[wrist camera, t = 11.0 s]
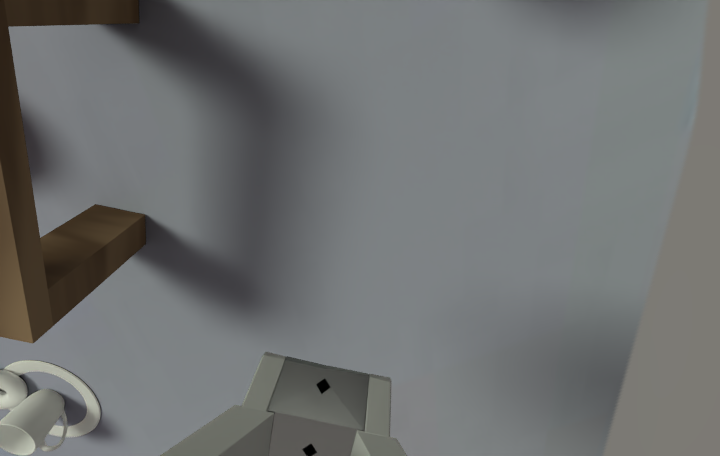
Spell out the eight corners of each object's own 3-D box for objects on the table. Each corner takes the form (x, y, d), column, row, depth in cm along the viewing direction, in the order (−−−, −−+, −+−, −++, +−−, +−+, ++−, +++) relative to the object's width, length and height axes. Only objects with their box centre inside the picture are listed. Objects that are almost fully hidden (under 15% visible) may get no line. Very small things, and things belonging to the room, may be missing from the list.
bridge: (98, 233, 27) (-37, 329, 19) (75, -37, 21) (-143, -72, 12) (145, 243, 27) (33, 343, 19) (137, -23, 21) (-38, -50, 12)
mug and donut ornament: (-26, 374, 34) (-77, 416, 30) (36, 332, 32) (-12, 373, 28) (61, 443, 37) (24, 490, 33) (124, 410, 34) (91, 457, 31)
